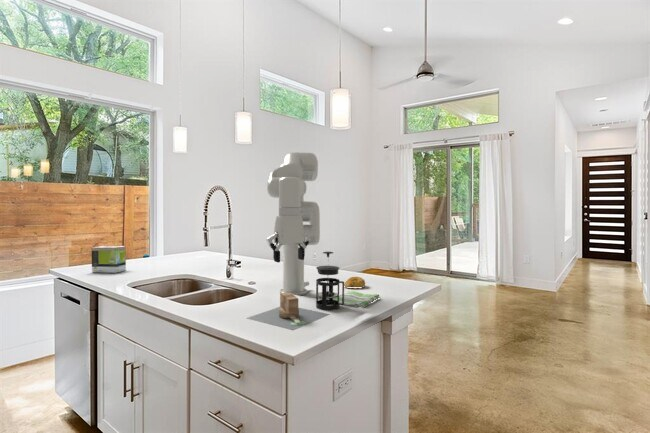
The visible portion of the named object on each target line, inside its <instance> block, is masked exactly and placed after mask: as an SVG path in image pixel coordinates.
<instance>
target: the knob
mask: <svg viewBox="0 0 650 433" xmlns="http://www.w3.org/2000/svg"><path fill="white" fill-rule="evenodd" d="M279 294H280V295H279V299H280V300H279V307H281V309H279V316H280V317H282V318H291V319H292V320H293V321H295V322H296V323H300V321H299V320H298V319H297V318H296V317H298V316H299V309H298V308H299V298H298V297H297V296H296V295H293V294H291V293H290V292H286V293H280V292H279Z"/></svg>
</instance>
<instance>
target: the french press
mask: <svg viewBox="0 0 650 433" xmlns="http://www.w3.org/2000/svg"><path fill="white" fill-rule="evenodd" d="M322 254H324V255H326V258H327V261H329V258H330V254H331V255H332V254H334V252H332V251H323V252H322ZM340 269H341V268H340V267H339V266H337V265H320V266H319V265H318V266H316V270H317V273H318V274H319V275H322V276H326V277H320V278H317V279H316V280H315V282H316V285H315V289H316V290H315V292H316V295H315V298H316V299H315V307H316V309H317V310H321V311H335V310H338V309H339V308H340V306H344V305H343V304H344V293H345V287H344V284H345V281H342V280H340V279H339V278H335V277H329V276H337V275H338V274H339V270H340ZM340 284H342V289H341V290H342V291H341V293H342V294H341V295H342V303H339V295H340ZM319 286H321V292H319ZM335 286H337V292H335V291H334V287H335ZM336 297H338V301H336V300H333V298H336ZM319 298H320V299H319Z"/></svg>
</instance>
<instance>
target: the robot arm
mask: <svg viewBox="0 0 650 433" xmlns="http://www.w3.org/2000/svg"><path fill="white" fill-rule="evenodd" d="M318 161H319V160H318V157H317V155H315V154H314V153H313V152H290V153H287V154H286V155H285V156H284V159H283V163H282V164H280V165H279V167H277V168H276V169H275V168H274V170H272V171H271V172H270V173H269V176H268V181H267V184H266V185H267V190H266V191H267V194H268V196H269V197H272V198H278V216H276V217H275V222H274V228H273V234H271V235H270V236H268V237H267V238H266V242H267V244H268V246H269V247H270V248H271V250H272V252H273V255H272V256H273V257H272V258H273V261H274V262H276V263H280V262H281V251H280V249H281V247H282V251H283V252H282V254H283V258H282V260H283V261H282V262H283V264H282V265H283V267H282V276H283V277H282V279H283V281H282V284H283V285H282V288H281V289H280V290H279V294H280V293H286V292H290V293H291V294H293V295H294V296H303V295H306V294H307V293H308V289H306V287H308V286H310V282H309V281H305V254H306V253H305V252H306V251H305V249H306V248H307V246H316V245H318V244H319V242H320V239H321V238H320V237H321V235H320V234H321V230H320V228H321V227H320V226H321V222H320V220H321V218H320V217H321V216H320V215H321V214H320V213H321V212H320V206H319V204H318V203H317V202H316V201H306V200H304V197H305V194H306V193H307V183H306V182H314V181H316V180H317V177H318V173H319V172H318V171H319V170H318V169H319V162H318ZM304 223H309V224H304Z"/></svg>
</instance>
